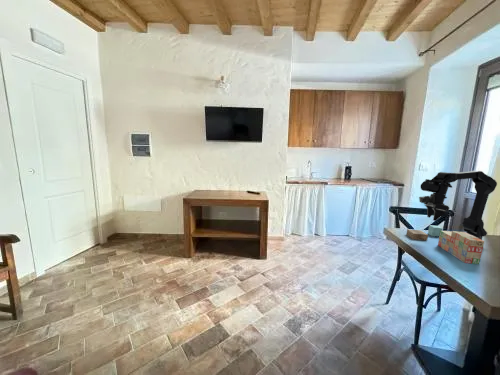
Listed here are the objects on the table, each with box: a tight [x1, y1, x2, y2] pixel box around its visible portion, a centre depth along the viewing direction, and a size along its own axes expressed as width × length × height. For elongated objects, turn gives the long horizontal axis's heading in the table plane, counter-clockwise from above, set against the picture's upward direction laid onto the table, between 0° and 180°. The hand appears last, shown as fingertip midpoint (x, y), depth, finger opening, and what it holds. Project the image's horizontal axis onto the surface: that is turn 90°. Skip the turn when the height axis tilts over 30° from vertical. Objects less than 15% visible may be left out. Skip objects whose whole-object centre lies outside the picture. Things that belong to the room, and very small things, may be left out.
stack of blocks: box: [437, 230, 485, 265], centre depth 115 cm, size 21×6×12 cm, turn 168°
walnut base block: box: [406, 228, 429, 241], centre depth 138 cm, size 8×8×4 cm
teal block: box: [427, 224, 443, 237], centre depth 143 cm, size 5×5×6 cm
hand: (431, 218), depth 129 cm, fingers open, 9 cm apart
